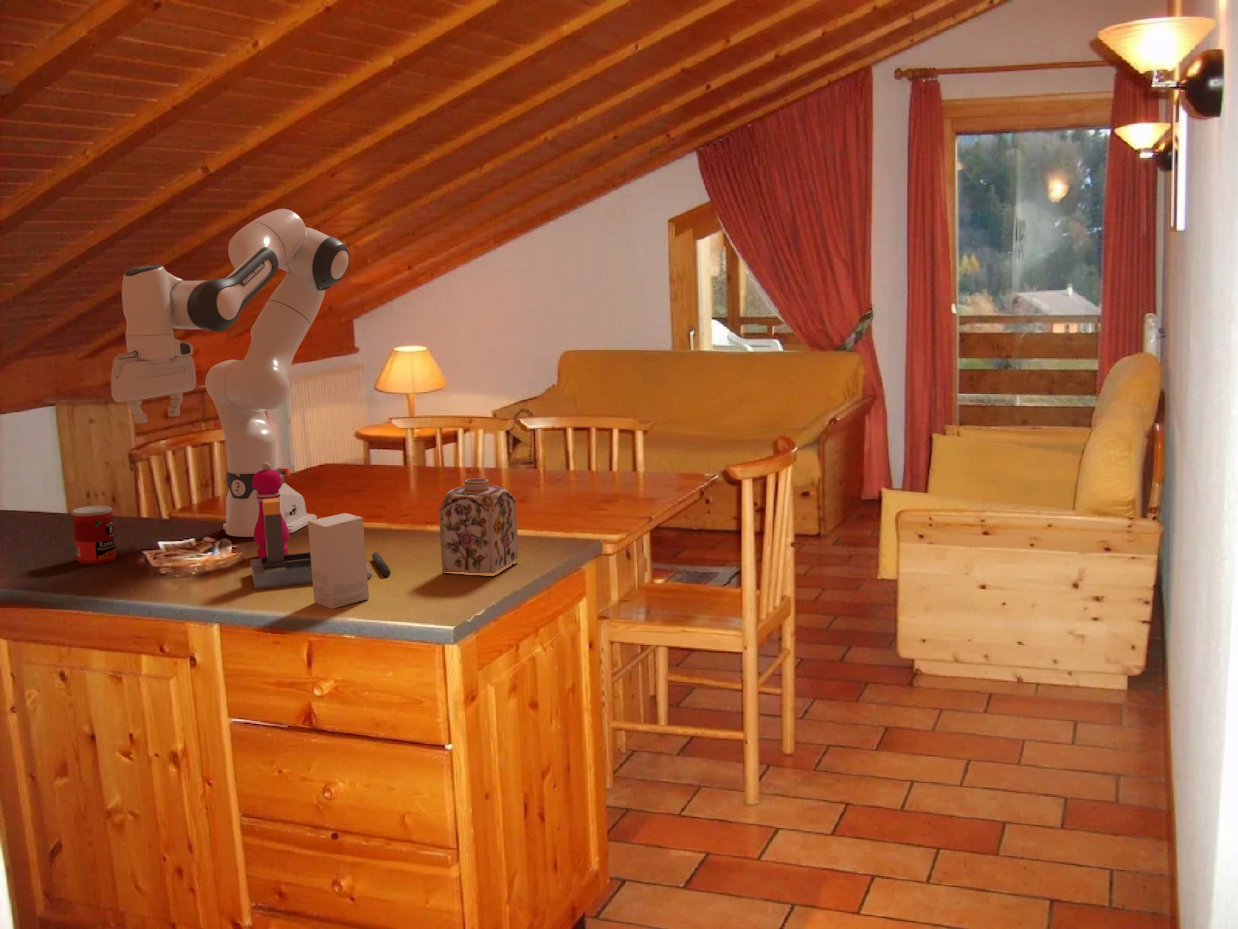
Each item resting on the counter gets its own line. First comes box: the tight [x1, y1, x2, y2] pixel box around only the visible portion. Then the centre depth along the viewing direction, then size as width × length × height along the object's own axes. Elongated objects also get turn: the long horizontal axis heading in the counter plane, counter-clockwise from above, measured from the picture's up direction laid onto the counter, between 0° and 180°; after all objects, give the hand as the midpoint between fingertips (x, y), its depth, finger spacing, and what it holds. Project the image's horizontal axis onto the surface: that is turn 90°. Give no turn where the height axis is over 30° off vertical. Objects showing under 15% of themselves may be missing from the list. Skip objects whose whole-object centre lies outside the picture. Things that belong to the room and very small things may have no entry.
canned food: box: [71, 505, 117, 565], centre depth 265 cm, size 8×8×11 cm
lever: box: [262, 498, 284, 563], centre depth 245 cm, size 3×4×12 cm
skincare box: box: [307, 512, 370, 610], centre depth 228 cm, size 8×7×16 cm
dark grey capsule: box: [366, 551, 392, 579], centre depth 252 cm, size 16×5×2 cm, turn 19°
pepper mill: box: [252, 462, 290, 559], centre depth 264 cm, size 7×7×20 cm
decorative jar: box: [438, 477, 519, 573], centre depth 249 cm, size 12×12×18 cm
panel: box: [250, 551, 313, 590], centre depth 248 cm, size 18×12×4 cm, turn 109°
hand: (157, 419), depth 249 cm, fingers open, 8 cm apart
